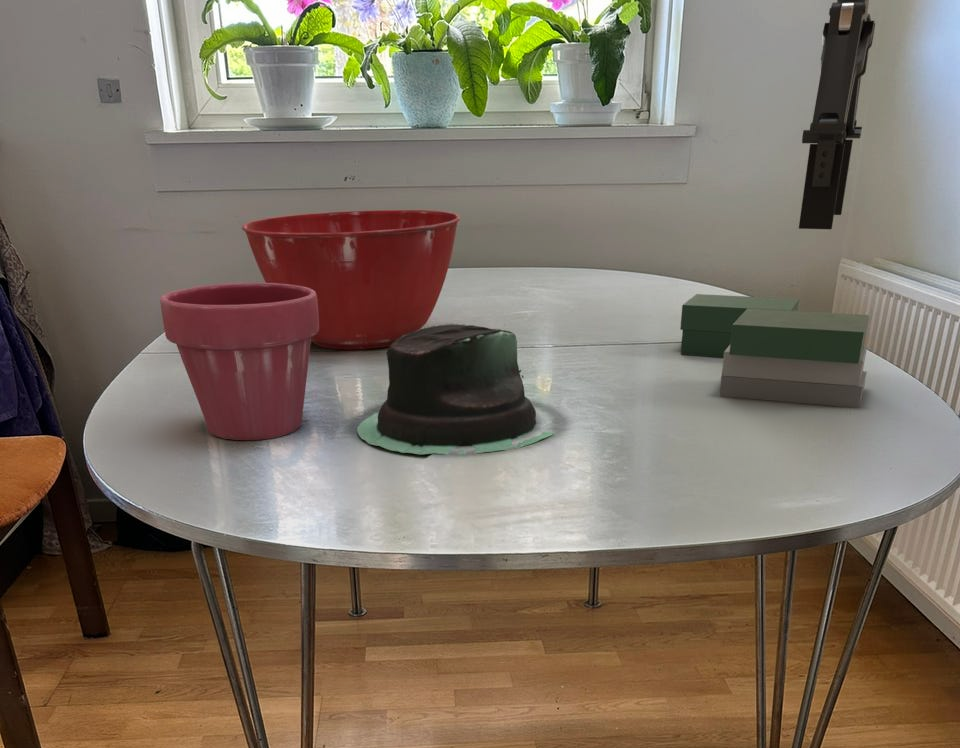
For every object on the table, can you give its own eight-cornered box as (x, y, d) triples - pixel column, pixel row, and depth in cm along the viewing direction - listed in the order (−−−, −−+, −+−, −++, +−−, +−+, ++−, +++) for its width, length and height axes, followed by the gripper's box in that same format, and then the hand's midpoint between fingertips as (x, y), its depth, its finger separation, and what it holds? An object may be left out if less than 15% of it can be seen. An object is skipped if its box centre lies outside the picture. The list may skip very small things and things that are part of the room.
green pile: (794, 347, 122) (801, 299, 119) (786, 361, 115) (793, 310, 112) (691, 341, 127) (696, 294, 124) (678, 354, 120) (682, 304, 117)
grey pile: (862, 394, 101) (871, 347, 99) (858, 411, 96) (867, 361, 93) (730, 384, 106) (735, 338, 104) (718, 399, 100) (723, 351, 98)
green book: (864, 344, 100) (869, 314, 99) (858, 363, 92) (863, 332, 91) (744, 336, 104) (747, 308, 103) (729, 354, 97) (732, 324, 95)
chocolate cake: (432, 381, 105) (597, 407, 97) (350, 504, 98) (522, 544, 89) (391, 264, 93) (575, 282, 85) (293, 393, 86) (486, 427, 77)
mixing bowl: (255, 369, 116) (238, 233, 109) (257, 325, 141) (243, 212, 133) (480, 355, 121) (478, 224, 113) (444, 315, 145) (440, 205, 138)
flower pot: (337, 407, 100) (325, 279, 94) (317, 447, 88) (303, 304, 82) (203, 409, 100) (182, 282, 94) (164, 450, 88) (138, 306, 82)
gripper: (825, -40, 89) (792, 208, 99) (800, -84, 68) (762, 234, 79) (912, -46, 86) (869, 210, 96) (912, -93, 66) (858, 236, 76)
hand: (821, 221), depth 87 cm, fingers open, 13 cm apart
